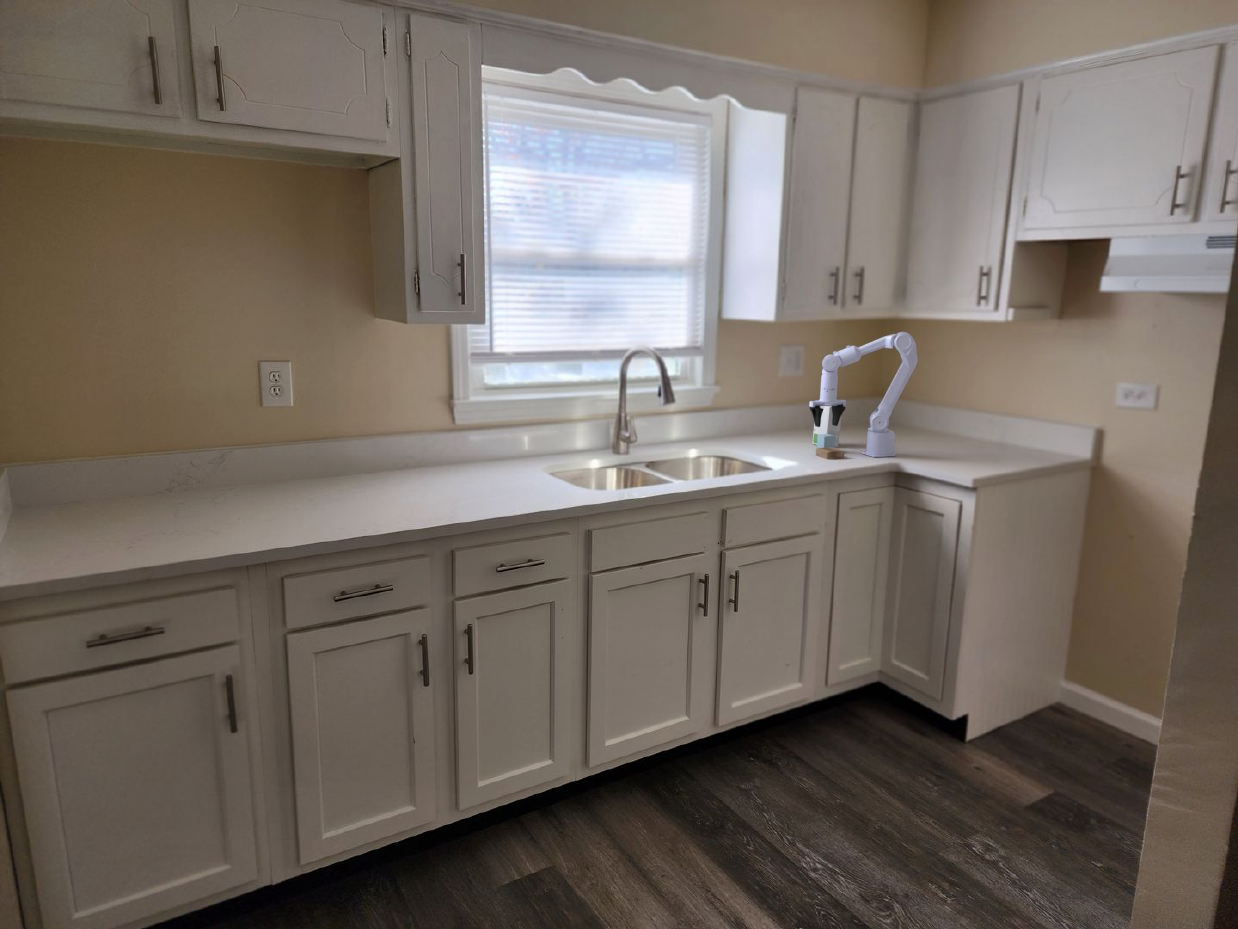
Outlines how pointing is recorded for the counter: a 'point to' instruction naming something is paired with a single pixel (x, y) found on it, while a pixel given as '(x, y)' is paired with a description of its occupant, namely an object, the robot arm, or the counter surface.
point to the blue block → (825, 441)
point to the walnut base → (830, 453)
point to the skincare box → (827, 426)
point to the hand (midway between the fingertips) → (826, 426)
